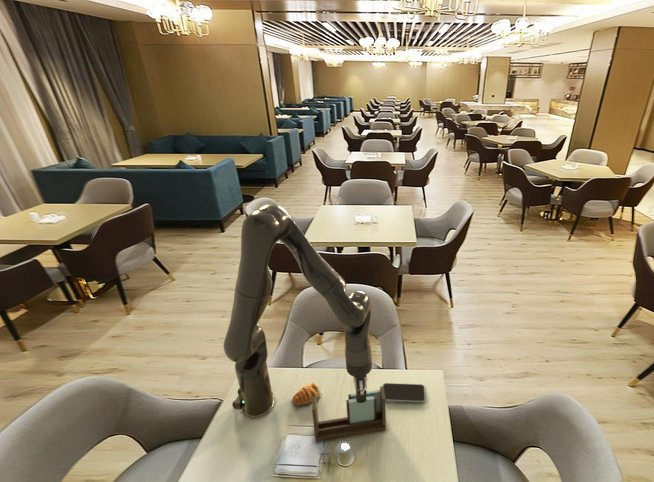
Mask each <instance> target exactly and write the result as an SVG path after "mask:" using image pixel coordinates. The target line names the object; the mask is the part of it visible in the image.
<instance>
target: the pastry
mask: <svg viewBox="0 0 654 482" xmlns="http://www.w3.org/2000/svg"><path fill="white" fill-rule="evenodd" d="M315 396H316V401H318V400H319V399H320V398H321V396H322V395H321V392H320V390H319V387H318V385H317V383H315V382H312V383H309V384H307V385H305V386H303V387H301V388H300V389H299V390H298V391H297V392H296V393H295V394H294V395H293V396H292V399H291V400H292V401H291V402H292V405H294V406H299V407H300V406H303V405H309V404H312V397H315Z"/></svg>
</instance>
